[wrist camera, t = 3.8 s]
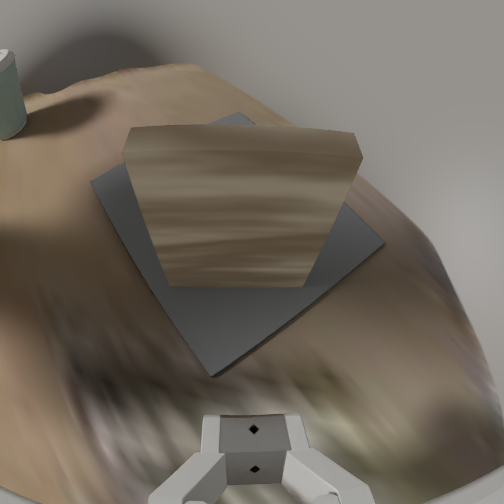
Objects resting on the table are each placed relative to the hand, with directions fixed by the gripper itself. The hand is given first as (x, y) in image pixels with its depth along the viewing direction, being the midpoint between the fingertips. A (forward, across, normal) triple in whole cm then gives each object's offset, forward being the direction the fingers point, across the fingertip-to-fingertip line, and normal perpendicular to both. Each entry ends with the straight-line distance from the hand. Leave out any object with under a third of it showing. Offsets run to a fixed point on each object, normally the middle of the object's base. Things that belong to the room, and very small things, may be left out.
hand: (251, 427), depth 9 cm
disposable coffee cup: (+40, +40, -17) cm, 58 cm away
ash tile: (+20, 0, +2) cm, 20 cm away
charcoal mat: (+26, +1, -3) cm, 26 cm away
